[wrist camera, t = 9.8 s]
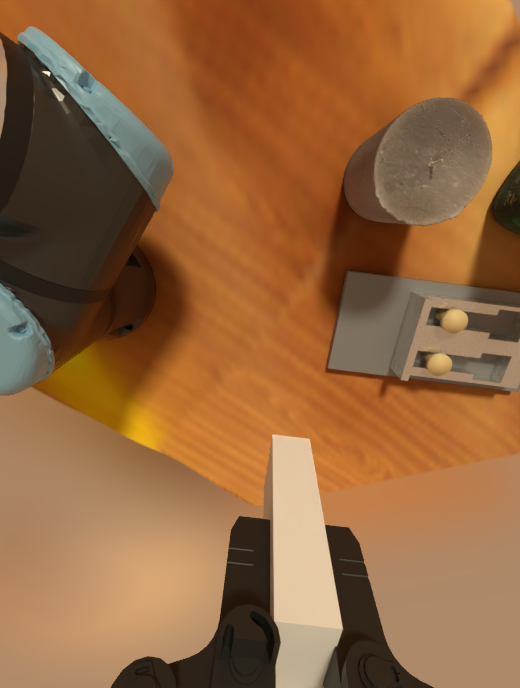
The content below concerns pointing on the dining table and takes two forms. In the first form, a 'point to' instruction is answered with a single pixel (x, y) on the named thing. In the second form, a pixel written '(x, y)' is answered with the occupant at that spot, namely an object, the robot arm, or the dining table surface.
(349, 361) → the board
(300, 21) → the dining table surface
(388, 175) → the pillar candle
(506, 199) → the coffee jar
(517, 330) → the keyhole panel
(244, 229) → the dining table surface
